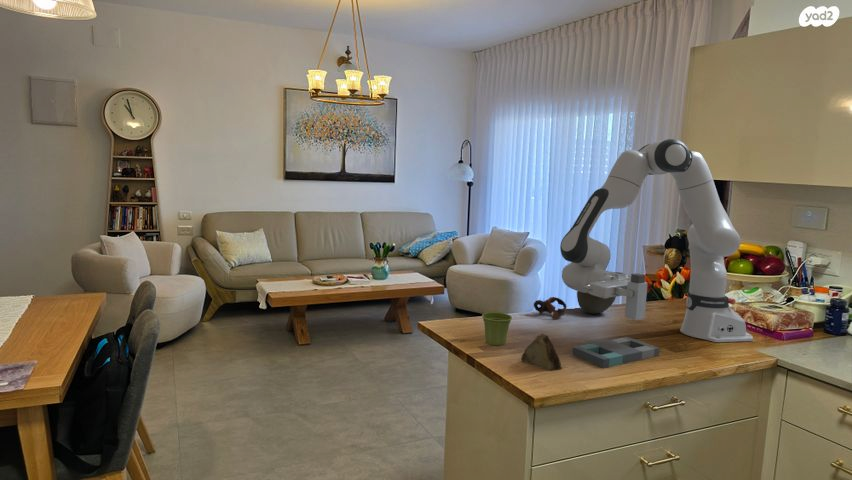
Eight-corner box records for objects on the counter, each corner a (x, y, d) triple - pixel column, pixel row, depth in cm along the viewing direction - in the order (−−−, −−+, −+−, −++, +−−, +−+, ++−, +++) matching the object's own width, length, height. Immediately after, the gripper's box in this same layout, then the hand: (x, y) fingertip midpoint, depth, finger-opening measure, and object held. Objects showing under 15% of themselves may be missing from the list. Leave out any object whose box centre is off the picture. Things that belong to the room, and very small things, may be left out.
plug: (633, 315, 175) (637, 272, 173) (644, 318, 171) (648, 275, 169) (624, 316, 173) (628, 273, 171) (635, 320, 169) (639, 276, 167)
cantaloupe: (588, 319, 210) (591, 279, 208) (569, 309, 223) (571, 272, 221) (621, 317, 214) (624, 278, 212) (600, 308, 227) (603, 271, 225)
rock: (510, 353, 161) (530, 360, 152) (525, 328, 163) (545, 333, 154) (536, 373, 165) (557, 380, 155) (550, 347, 167) (572, 354, 157)
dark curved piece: (557, 313, 218) (566, 298, 214) (561, 330, 211) (570, 314, 206) (528, 305, 217) (537, 289, 213) (531, 322, 209) (539, 306, 205)
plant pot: (514, 341, 180) (516, 315, 179) (504, 349, 172) (505, 321, 171) (487, 336, 184) (488, 310, 183) (476, 344, 176) (477, 317, 175)
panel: (626, 344, 181) (627, 336, 181) (658, 355, 171) (659, 347, 170) (572, 355, 169) (572, 347, 168) (603, 368, 159) (604, 359, 158)
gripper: (580, 277, 176) (616, 285, 164) (625, 272, 187) (661, 280, 175) (579, 296, 177) (614, 307, 165) (623, 290, 187) (659, 300, 176)
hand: (639, 293), depth 170 cm, fingers closed on plug, 4 cm apart
